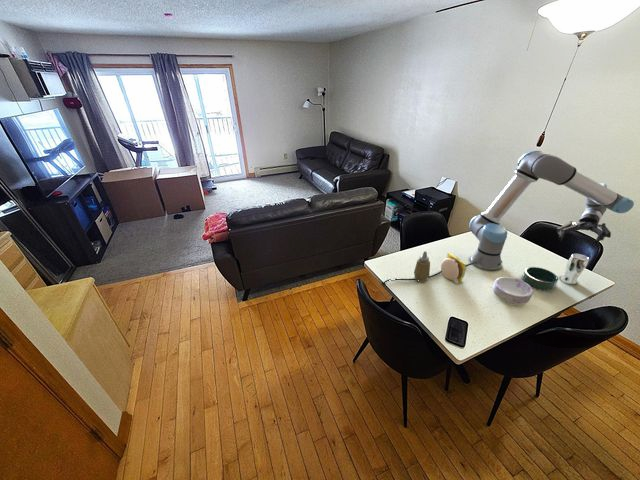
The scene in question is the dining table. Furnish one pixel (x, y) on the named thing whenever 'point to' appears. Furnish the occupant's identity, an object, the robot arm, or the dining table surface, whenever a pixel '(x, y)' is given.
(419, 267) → the squeeze bottle
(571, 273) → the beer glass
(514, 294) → the lavender bowl
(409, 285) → the dining table surface
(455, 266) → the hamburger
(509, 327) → the dining table surface
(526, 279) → the glazed bowl
